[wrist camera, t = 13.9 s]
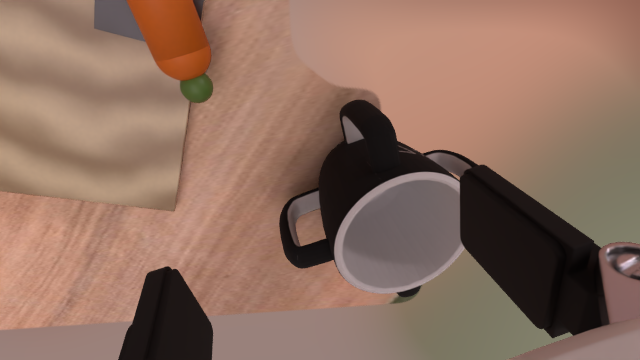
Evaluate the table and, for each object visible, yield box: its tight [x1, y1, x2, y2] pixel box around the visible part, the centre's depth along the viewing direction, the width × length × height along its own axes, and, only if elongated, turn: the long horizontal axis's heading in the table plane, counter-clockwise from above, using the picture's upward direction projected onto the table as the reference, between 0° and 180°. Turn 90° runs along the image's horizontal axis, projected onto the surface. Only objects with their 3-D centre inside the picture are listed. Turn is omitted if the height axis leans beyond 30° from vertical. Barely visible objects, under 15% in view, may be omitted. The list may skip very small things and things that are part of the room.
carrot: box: [127, 0, 213, 103], centre depth 23 cm, size 14×4×4 cm, turn 13°
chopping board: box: [0, 0, 205, 211], centre depth 26 cm, size 22×20×2 cm
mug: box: [279, 100, 479, 297], centre depth 33 cm, size 16×16×12 cm
